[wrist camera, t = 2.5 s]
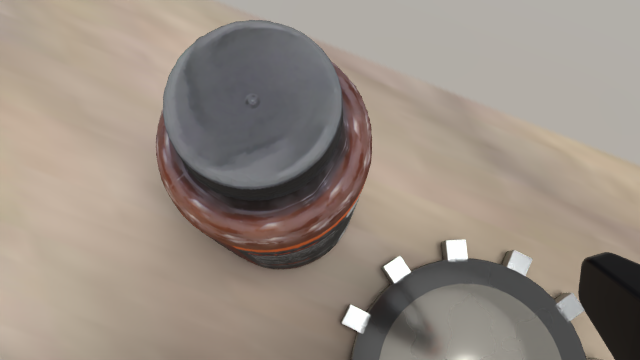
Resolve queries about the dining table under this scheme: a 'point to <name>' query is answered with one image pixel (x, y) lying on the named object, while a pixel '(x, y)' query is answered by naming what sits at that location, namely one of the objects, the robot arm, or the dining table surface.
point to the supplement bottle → (263, 143)
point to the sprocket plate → (465, 313)
